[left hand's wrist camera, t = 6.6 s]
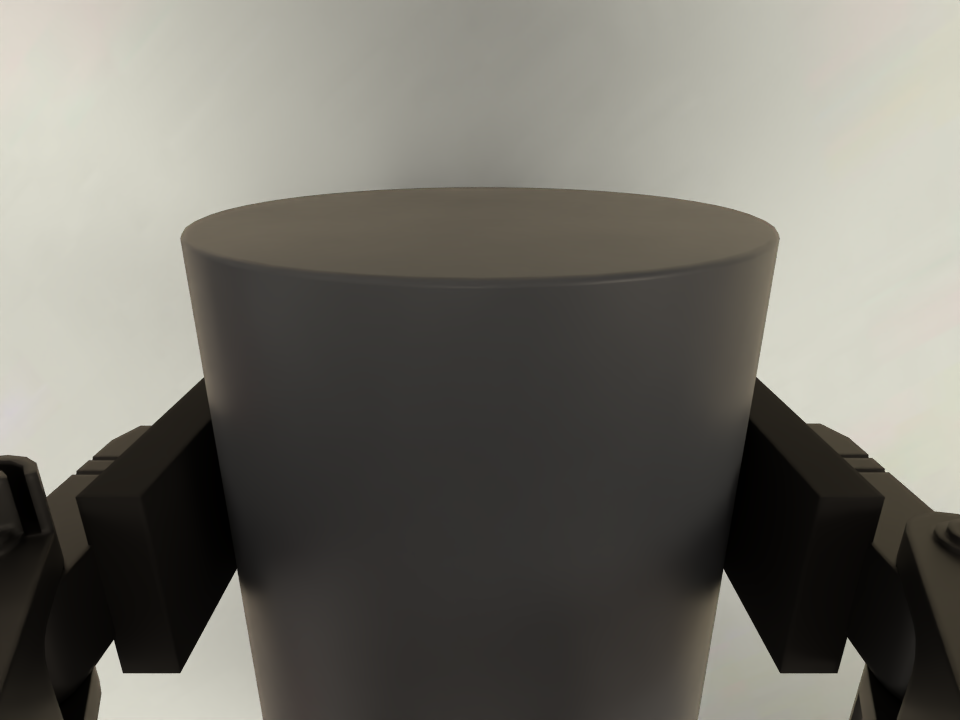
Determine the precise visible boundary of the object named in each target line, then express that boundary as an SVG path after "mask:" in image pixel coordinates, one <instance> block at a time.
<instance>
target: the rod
mask: <svg viewBox="0 0 960 720" xmlns="http://www.w3.org/2000/svg"><path fill="white" fill-rule="evenodd" d="M779 239H780V238H779V234H778V232H777V231H776V229H775V227H774V226H772V225H771V224H769V223H767V222H766V221H764V220H762V219H759V218H757V217H755V216H752V215H750V214H747V213H744V212H740V211H737V210H734V209H729V208H725V207H721V206H716V205H711V204H706V203H700V202H695V201H688V200H681V199H675V198H667V197H658V196H650V195H640V194H630V193H618V192H605V191H589V190H571V189H548V188H508V187H454V188H415V189H392V190H374V191H358V192H345V193H333V194H323V195H313V196H304V197H296V198H288V199H281V200H274V201H268V202H262V203H256V204H251V205H246V206H241V207H237V208H233V209H228V210H225V211H221V212H218V213H215V214H211V215H209V216H207V217H204V218H202V219H199V220H197V221H195V222H193V223H192V224H190V225H189V226H187V227H186V228H185V230H184V231H183V233H182V235H181V245H182V251H183V257H184V262H185V268H186V274H187V280H188V286H189V291H190V297H191V303H192V309H193V315H194V320H195V326H196V332H197V338H198V344H199V349H200V355H201V361H202V367H203V373H204V379H205V384H206V390H207V396H208V402H209V408H210V413H211V419H212V425H213V431H214V437H215V443H216V448H217V454H218V460H219V466H220V472H221V477H222V483H223V489H224V495H225V501H226V506H227V512H228V518H229V524H230V530H231V536H232V541H233V547H234V553H235V559H236V565H237V570H238V576H239V582H240V588H241V594H242V599H243V605H244V611H245V617H246V623H247V629H248V634H249V640H250V646H251V652H252V658H253V663H254V669H255V675H256V681H257V687H258V692H259V698H260V704H261V710H262V716H263V720H698V714H699V709H700V703H701V697H702V691H703V685H704V679H705V673H706V667H707V662H708V656H709V650H710V644H711V638H712V632H713V626H714V621H715V615H716V609H717V603H718V597H719V591H720V585H721V579H722V574H723V568H724V562H725V556H726V550H727V544H728V538H729V532H730V527H731V521H732V515H733V509H734V503H735V497H736V491H737V485H738V480H739V474H740V468H741V462H742V456H743V450H744V444H745V438H746V433H747V427H748V421H749V415H750V409H751V403H752V397H753V392H754V386H755V380H756V374H757V368H758V362H759V356H760V350H761V345H762V339H763V333H764V327H765V321H766V315H767V309H768V303H769V298H770V292H771V286H772V280H773V274H774V268H775V262H776V256H777V251H778V245H779Z"/></svg>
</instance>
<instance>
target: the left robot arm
mask: <svg viewBox="0 0 960 720" xmlns="http://www.w3.org/2000/svg"><path fill="white" fill-rule="evenodd" d="M236 569H237V565H236V559H235V553H234V547H233V541H232V536H231V530H230V524H229V518H228V512H227V506H226V501H225V495H224V489H223V483H222V477H221V472H220V466H219V460H218V454H217V448H216V443H215V437H214V431H213V425H212V419H211V413H210V408H209V402H208V396H207V390H206V384H205V379H204V378H203V379H202V380H201V381H199V382H198V383H197V384H196V385H195V386H194V387H193V388H192V389H191V390H190V391H189V392H188V393H187V394H186V395H184V396H183V397H182V398H181V399H180V400H179V401H178V402H177V403H176V404H175V405H174V406H173V407H172V408H170V409H169V410H168V411H167V412H166V413H165V414H164V415H163V416H162V417H161V418H160V419H159V420H158V421H157V422H155V423H154V424H153V425H152V426H139V427H137V428H135V429H133V430H131V431H129V432H127V433H125V434H123V435H121V436H119V437H117V438H115V439H113V440H112V441H111V442H109V443H108V444H107V445H106V446H105V447H104V448H103V449H101V450H100V451H99V452H98V453H97V454H96V455H95V456H93V460H89V461H88V462H86V463H85V464H84V465H83V466H82V467H81V468H80V469H78V470H77V473H76V475H72V476H70V477H69V478H68V479H67V480H66V481H65V482H63V483H62V484H61V485H60V486H59V487H58V488H57V489H55V490H54V491H53V492H52V493H51V494H50V495H49V496H47V497H46V495H45V491H44V488H43V484H42V481H41V477H40V474H39V471H38V467H37V464H36V462H34V461H32V460H30V459H29V458H27V457H21V456H11V455H4V456H0V720H97V718H98V712H99V705H100V699H101V688H100V681H99V677H98V674H97V670H96V667H95V665H96V664H97V663H98V661H99V660H100V658H101V657H102V656H103V654H104V653H105V651H106V650H107V648H108V647H109V646H110V644H111V643H112V641H113V640H114V642H115V645H116V649H117V653H118V656H119V660H120V664H121V668H122V671H123V673H181V671H182V669H183V667H184V665H185V663H186V662H187V660H188V658H189V656H190V654H191V652H192V651H193V649H194V647H195V645H196V643H197V641H198V639H199V638H200V636H201V634H202V632H203V630H204V628H205V627H206V625H207V623H208V621H209V619H210V617H211V615H212V614H213V612H214V610H215V608H216V606H217V604H218V603H219V601H220V599H221V597H222V595H223V593H224V591H225V590H226V588H227V586H228V584H229V582H230V580H231V579H232V577H233V575H234V573H235V571H236ZM723 569H724V570H725V572H726V574H727V576H728V578H729V580H730V581H731V583H732V585H733V587H734V589H735V591H736V593H737V594H738V596H739V598H740V600H741V602H742V604H743V605H744V607H745V609H746V611H747V613H748V615H749V617H750V618H751V620H752V622H753V624H754V626H755V628H756V629H757V631H758V633H759V635H760V637H761V639H762V641H763V642H764V644H765V646H766V648H767V650H768V652H769V653H770V655H771V657H772V659H773V661H774V663H775V665H776V666H777V668H778V670H779V672H780V673H838V669H839V666H840V662H841V658H842V655H843V651H844V647H845V644H846V640H847V637H848V639H849V640H850V642H851V643H852V644H853V646H854V647H855V649H856V650H857V651H858V653H859V654H860V656H861V657H862V658H863V660H864V661H865V667H864V670H863V674H862V677H861V681H860V684H859V687H858V691H857V694H856V698H855V701H854V705H853V708H852V712H851V715H850V718H849V720H960V515H959V514H953V513H944V512H934V511H933V510H932V509H931V508H930V507H928V506H927V505H926V504H925V503H924V502H923V501H921V500H920V499H919V498H918V497H917V496H916V495H914V494H913V493H912V492H911V491H910V490H909V489H908V488H906V487H905V486H904V485H903V484H902V483H901V482H899V481H898V480H897V479H896V478H895V477H894V476H892V475H891V474H890V473H889V472H885V469H884V468H883V467H882V466H881V465H880V464H879V463H877V462H876V461H875V460H874V459H873V458H869V457H868V454H867V453H866V452H865V451H863V450H862V449H861V448H860V447H859V446H858V445H856V444H855V443H854V442H853V441H852V440H851V439H850V438H848V437H846V436H844V435H842V434H840V433H838V432H836V431H834V430H832V429H830V428H828V427H826V426H824V425H822V424H806V423H805V422H804V421H803V420H802V419H801V418H800V417H799V416H798V415H796V414H795V413H794V412H793V411H792V410H791V409H790V408H789V407H788V406H787V405H786V404H785V403H784V402H782V401H781V400H780V399H779V398H778V397H777V396H776V395H775V394H774V393H773V392H772V391H771V390H770V389H769V388H767V387H766V386H765V385H764V384H763V383H762V382H761V381H760V380H759V379H758V378H757V377H756V380H755V386H754V392H753V397H752V403H751V409H750V415H749V421H748V427H747V433H746V438H745V444H744V450H743V456H742V462H741V468H740V474H739V480H738V485H737V491H736V497H735V503H734V509H733V515H732V521H731V527H730V532H729V538H728V544H727V550H726V556H725V562H724V568H723Z"/></svg>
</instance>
